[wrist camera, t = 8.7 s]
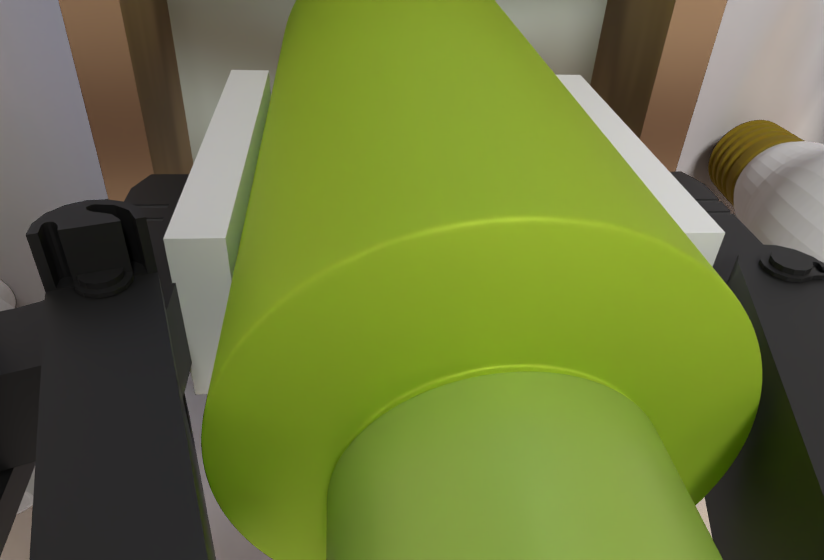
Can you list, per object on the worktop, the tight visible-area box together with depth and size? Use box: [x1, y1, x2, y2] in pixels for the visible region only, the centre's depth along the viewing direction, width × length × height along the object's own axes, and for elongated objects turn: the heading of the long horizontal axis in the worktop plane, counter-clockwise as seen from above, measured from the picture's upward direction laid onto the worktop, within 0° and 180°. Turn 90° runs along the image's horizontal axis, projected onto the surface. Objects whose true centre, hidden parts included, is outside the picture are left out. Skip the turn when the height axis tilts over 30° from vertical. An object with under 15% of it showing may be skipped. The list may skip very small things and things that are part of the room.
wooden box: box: [59, 0, 727, 202], centre depth 18 cm, size 14×14×5 cm
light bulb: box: [708, 120, 824, 263], centre depth 19 cm, size 6×6×10 cm
